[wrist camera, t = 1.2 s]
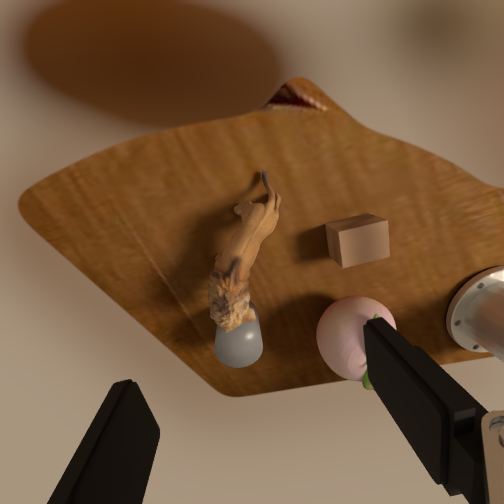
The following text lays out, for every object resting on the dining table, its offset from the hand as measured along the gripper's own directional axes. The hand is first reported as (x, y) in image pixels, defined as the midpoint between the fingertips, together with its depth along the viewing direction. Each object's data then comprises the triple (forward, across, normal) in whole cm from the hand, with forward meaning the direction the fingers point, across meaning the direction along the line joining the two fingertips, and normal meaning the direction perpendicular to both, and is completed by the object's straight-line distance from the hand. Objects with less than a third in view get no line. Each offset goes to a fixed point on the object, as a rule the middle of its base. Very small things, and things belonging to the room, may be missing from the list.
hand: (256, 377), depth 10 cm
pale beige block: (+19, -12, +2) cm, 23 cm away
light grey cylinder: (+19, +3, +9) cm, 22 cm away
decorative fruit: (+19, -10, +12) cm, 25 cm away
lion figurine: (+20, -1, 0) cm, 20 cm away
